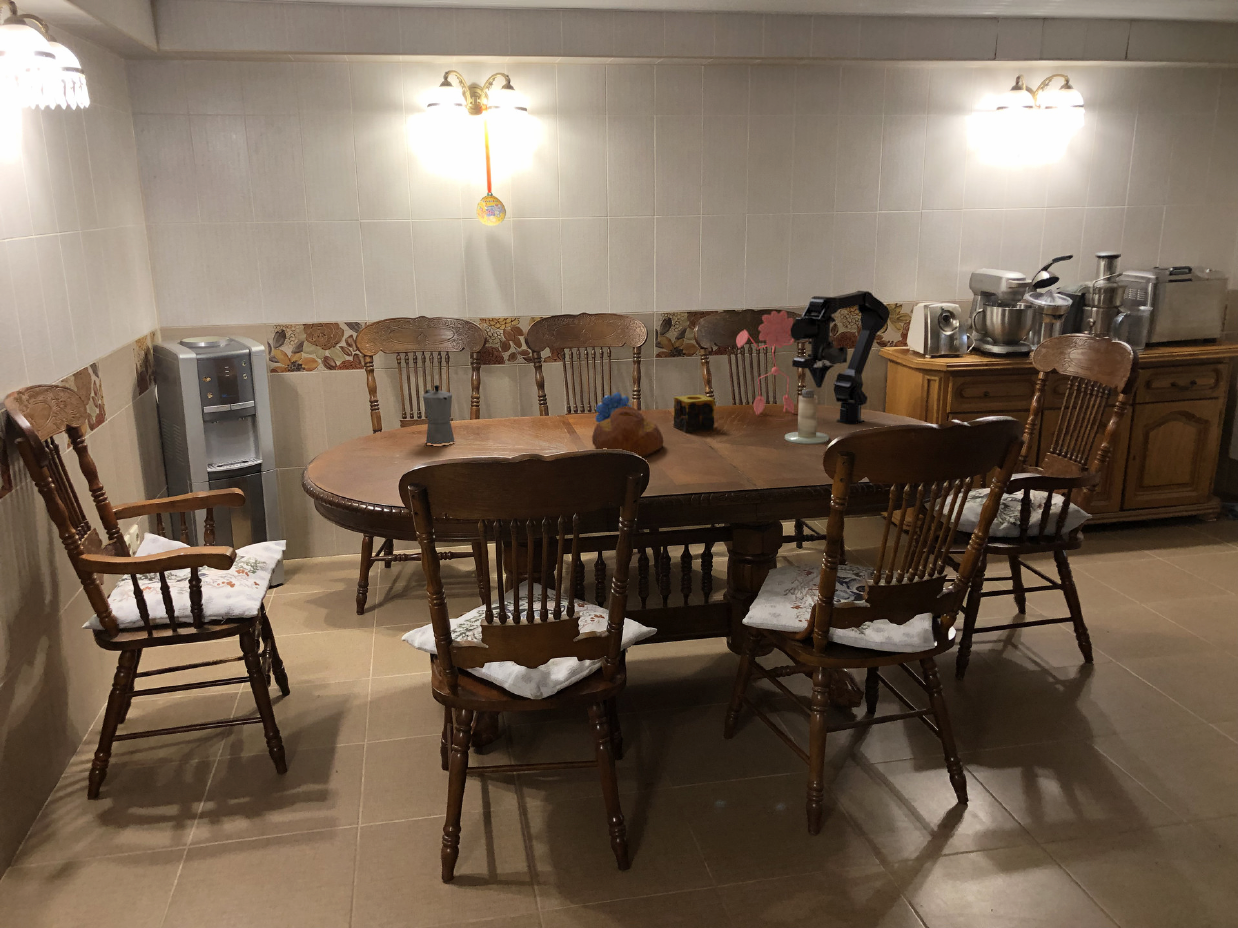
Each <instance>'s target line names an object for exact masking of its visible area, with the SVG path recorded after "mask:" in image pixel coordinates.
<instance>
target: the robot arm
mask: <svg viewBox="0 0 1238 928" xmlns="http://www.w3.org/2000/svg"><path fill="white" fill-rule="evenodd" d="M851 307H857V308H856V309H857V311H858V312H859V313H860V319H859V321H860V325H861V327H860V328H861V330H860V333H859V336H858V338H857V339H856V344H855V346H854V348H853V351H852V354H851V357H850V360H849V361H848V352H849V350H848V347H846V346H840V347H835V345H834V341H833V340H831V324H832V323H836V321H837V320H836V318H834V317H833V315H834V314H837V312H838V311H840V310H843V309H847V308H851ZM890 315H891V313H890V310H889V308H888V306H887V305H886V304H885V303H884V301H881V300H880V299H878V298H877V297H875V296H874V295H873V293H872V292H870V291H869V290H868V291H867V290H866V291H865V290H857V291H854V292H850V293H847V294H846V293H845V294H840V295H835V296H823V295H815V296H812V297H810V301H809V303H808V304H807V306H806V308H805V310H804V311H803V314H802V315H801V317H796V318H795V321H794V322H793V324H792V327H791V335H790V336H791V338H792V339H794V341H804V340H808V341H807V344H808V345H810V353H807V356H797V357H793V359H792V361H791V362H792V363H791V364H792V365H791V366H792V367H793V368H800V369H807V370H808V371H809V373H810V375H811V377H812V379H813V381H814V384H815V386H816V388H818V389H820V388H822V386H823V383H824V381H825V378H826V375H827V373H828V371H829V370H830V369H832V368H834V367H835V365H837V364H839V365H840V364H847V363H848V362H849V363H848V365H847V368H846V370H845V371H844V372H843V373H842V372H841V373H840V372H839V373H837V375H836V379H835V381H834V383H833V386H834V387H833V392H834V396H835V401H836V402H837V403H840V408H839V418H838V419H836V422H840V423H844V424H849V425H854V424H859V423H863V422H865V419H862V418H861V417H862V406H864V405H866V404H867V401H868V396H867V395H866V393H865V392H864V391H863V386H864V383H863V382H864V381H863V377H862V376H863V372H864V369H865V366H866V363H867V361H868V359H869V355H870V354H871V351H872V348H873V345H874V343H875V340H876V337H877V335H878V333H880V331H882V329H884V328H885V327H886V324H887V322H888V320H889V318H890Z"/></svg>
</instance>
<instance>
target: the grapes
mask: <svg viewBox="0 0 1238 928" xmlns="http://www.w3.org/2000/svg"><path fill="white" fill-rule="evenodd" d="M629 402H630V399H629V397H628V396H627V395H624V396H622V394H621V393H620V392H614V393H613V394H612V396H611V395H608V394H607V395H605V396H604V397H603V398H602V403H599V404H597V405H596V408H595V412H597V413H598V414H596V416H595V421H596V423H599V422H601V421H603V420H606V419H608V418H610V415H611V414H612V412H613V411H614V410H616V409H617V408H621V407H624V406H629V407H632V406H631V405H630V404H629Z"/></svg>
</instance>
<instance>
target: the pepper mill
mask: <svg viewBox="0 0 1238 928" xmlns="http://www.w3.org/2000/svg"><path fill="white" fill-rule="evenodd" d="M797 411H798V412H797V413H798V415H797V432H798V437H801V438H814V437H816V432H817V427H818V424H817V423H818V422H817V421H818V396H817V395H815V389H811V388H810V389H809V388H807V389H802V391H801V395H799V396H798V410H797Z"/></svg>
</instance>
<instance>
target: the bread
mask: <svg viewBox="0 0 1238 928" xmlns="http://www.w3.org/2000/svg"><path fill="white" fill-rule="evenodd" d="M591 439H592V440H591V442H592V445H593V446H594V447H595V449H597V450H598V449H603V448H607V449H622V450H626V451H630V452H634V453H636V454H638V455H639V456H642V457H641V458H643V457H644V458H645V457H647V456H648V455H649V456H650V454H652V453H655V452H657V451H658V450H659V449H660V448H661V447H663V445H664V437H663V435H662V431H661V430H660V428H659V426H658V425H657V423H655V422H652V421H651V420H648V419H647V418H645V417H644V416H643V414H642V412H640V411H639V410H638V409H636V408H635V407H632V406H631V407H629V406H624V407H621V408H617V409H616V410H614V411H613V412H612V414H611V415H610V418H608V419H606V420H603V421H601V422H597V423H596V425H595V427H594V429H593V432H592V435H591Z"/></svg>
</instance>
